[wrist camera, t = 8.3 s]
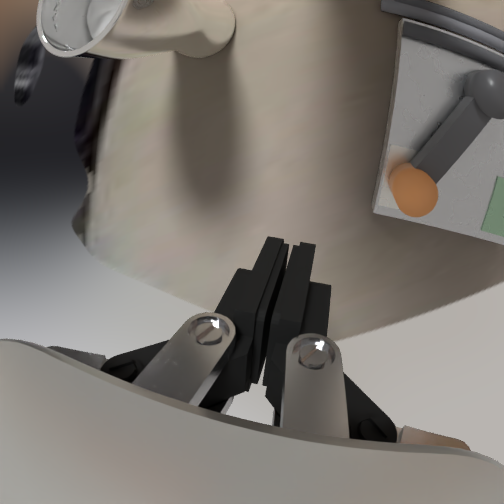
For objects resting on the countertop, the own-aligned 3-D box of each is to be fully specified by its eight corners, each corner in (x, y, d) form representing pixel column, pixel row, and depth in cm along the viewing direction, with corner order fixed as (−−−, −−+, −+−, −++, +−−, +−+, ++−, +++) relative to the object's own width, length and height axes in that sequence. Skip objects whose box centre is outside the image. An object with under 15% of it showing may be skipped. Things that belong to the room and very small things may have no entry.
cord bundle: (381, -9, 17) (386, -21, 14) (549, 60, 14) (568, 60, 11) (378, 35, 19) (384, 28, 16) (546, 100, 16) (565, 104, 13)
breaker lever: (479, 60, 15) (496, 59, 13) (509, 94, 16) (528, 98, 13) (378, 182, 22) (383, 195, 20) (411, 211, 23) (418, 227, 20)
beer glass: (196, -20, 19) (79, -74, 7) (258, 16, 20) (168, -46, 8) (152, 39, 23) (19, 33, 10) (207, 77, 24) (84, 85, 11)
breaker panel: (398, 22, 18) (403, 17, 16) (536, 78, 15) (550, 79, 13) (371, 204, 26) (373, 214, 24) (500, 236, 23) (509, 247, 21)
